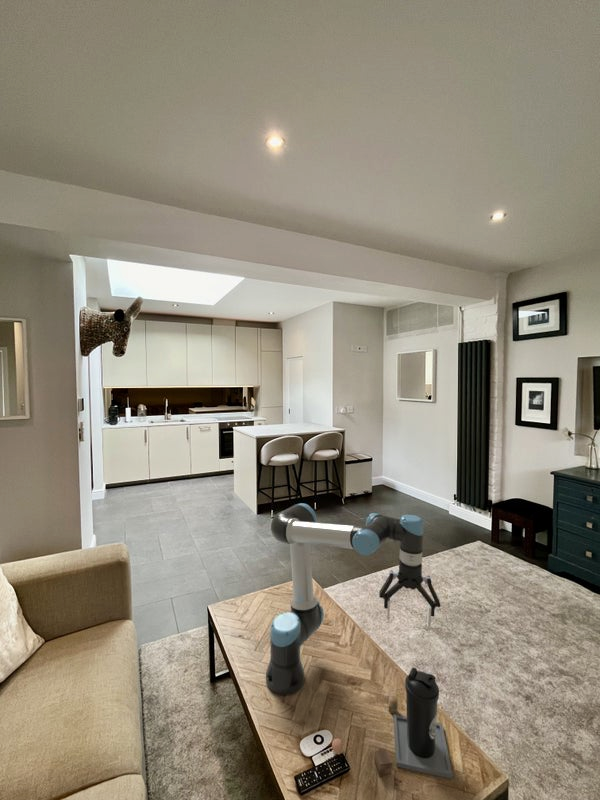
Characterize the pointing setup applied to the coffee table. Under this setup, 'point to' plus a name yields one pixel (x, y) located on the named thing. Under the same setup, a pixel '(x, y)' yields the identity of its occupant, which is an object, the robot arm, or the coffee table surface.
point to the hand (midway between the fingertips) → (408, 620)
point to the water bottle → (421, 712)
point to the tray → (409, 760)
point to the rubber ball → (337, 746)
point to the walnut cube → (383, 763)
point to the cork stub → (393, 705)
